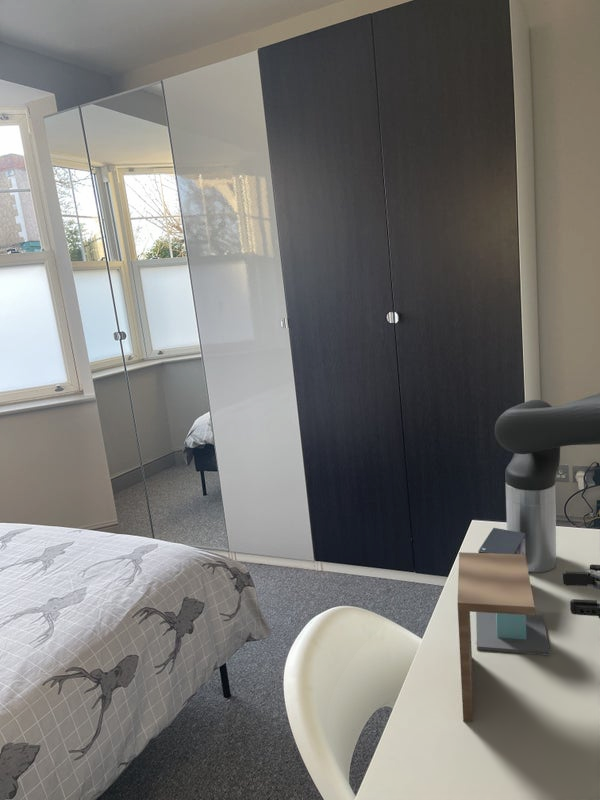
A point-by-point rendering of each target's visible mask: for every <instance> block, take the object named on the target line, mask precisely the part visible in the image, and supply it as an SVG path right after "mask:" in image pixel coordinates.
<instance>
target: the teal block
mask: <svg viewBox="0 0 600 800" xmlns="http://www.w3.org/2000/svg"><path fill="white" fill-rule="evenodd" d="M496 624H497V637H499V638H513V639H526V615H519V614H502V613H496Z"/></svg>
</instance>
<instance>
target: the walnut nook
mask: <svg viewBox="0 0 600 800" xmlns="http://www.w3.org/2000/svg"><path fill="white" fill-rule="evenodd" d="M457 575H458V576H457V577H458V580H457V618H458V619H457V620H458V621H457V622H458V623H457V624H458V640H459V641H458V643H459V660H460V661H459V663H460V677H461V678H460V679H461V680H460V683H461V698H462V699H461V700H462V705H461V706H462V721H463V722H469V723H473V654H472V653H473V651H472V649H473V648H472V630H471V628H472V627H471V613H472V612H473V613H476V612H485V613H502V614H519V615H536V613H535V612H536V609H535V608H536V607H535V603H534V597H533V595H534V594H533V590H532V585H531V579H530V572H528V568H527V562H526V556H525V554H495V553H478V552H465V551H464V552H459V553H458V574H457Z"/></svg>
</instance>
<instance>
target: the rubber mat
mask: <svg viewBox="0 0 600 800" xmlns="http://www.w3.org/2000/svg"><path fill="white" fill-rule="evenodd" d="M475 613H476V614H475V618H476V619H475V621H476V622H475V623H476V650H477V651H489V652H499V653H500V652H504V653H514V654H526V655H527V654H528V655H529V654H530V655H540V656H541V655H542V656H543V655H544V656H550V655H551V650H550V645H549V641H548V635H547V631H546V626H545V620H544V615H543V614H542V615H541V614H535V615H526V639H513V638H499V637H497V624H496V613H485V612H475Z"/></svg>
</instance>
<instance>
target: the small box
mask: <svg viewBox="0 0 600 800" xmlns="http://www.w3.org/2000/svg"><path fill="white" fill-rule="evenodd" d="M477 551H478V552H477V553H495V554H525V533H522V532H516V531H509V530H507V529H504V528H498V527H493V528H492V529H491V531H490V532H489V534H488V535H487V537H486V538H485V539H484V541H483V543H482V545H481V546H480V547H479V548H478V550H477Z"/></svg>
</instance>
